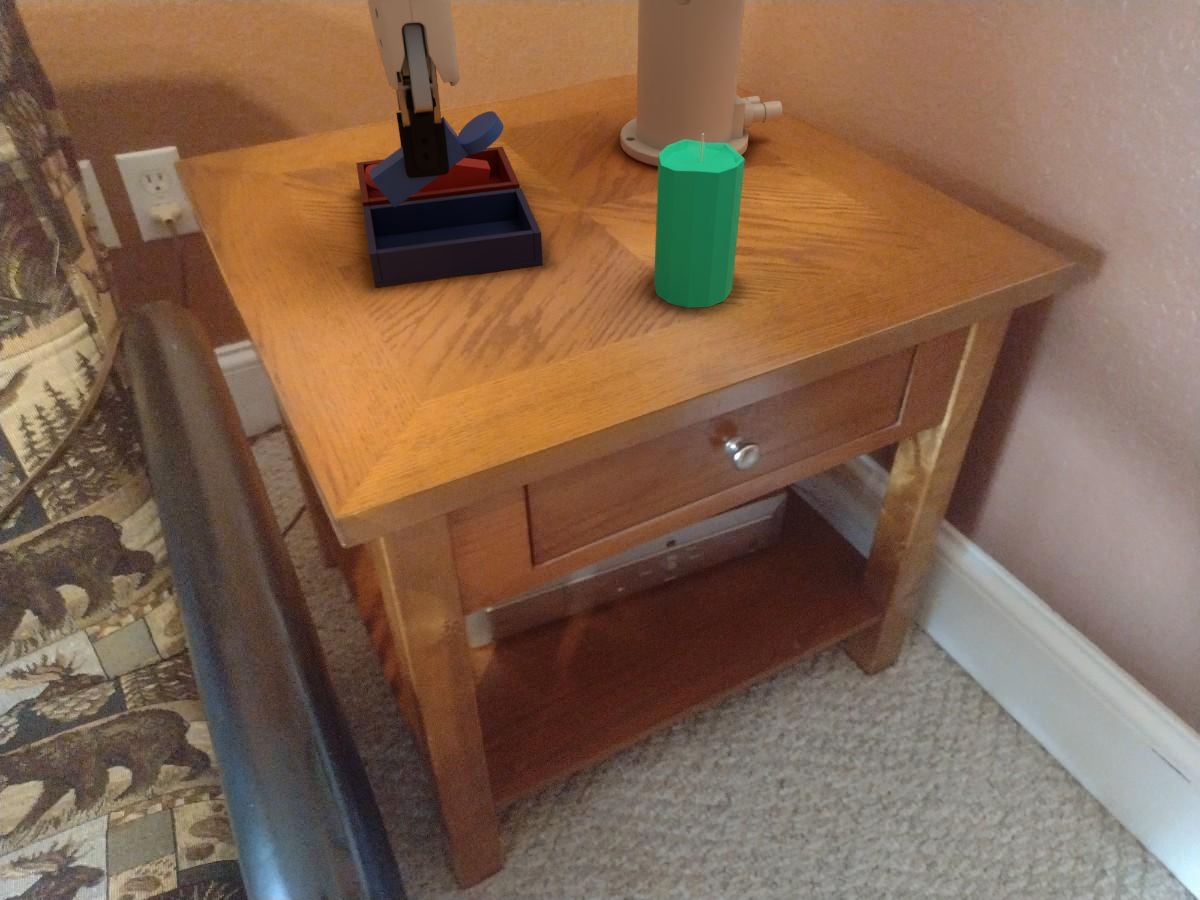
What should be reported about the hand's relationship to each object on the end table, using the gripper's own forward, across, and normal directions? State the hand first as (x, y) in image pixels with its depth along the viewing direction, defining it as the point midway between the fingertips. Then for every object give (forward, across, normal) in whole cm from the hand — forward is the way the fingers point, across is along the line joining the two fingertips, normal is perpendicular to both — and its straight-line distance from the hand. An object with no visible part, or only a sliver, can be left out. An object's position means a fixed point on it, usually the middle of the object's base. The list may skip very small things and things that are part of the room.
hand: (426, 167), depth 69 cm
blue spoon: (0, 0, -2) cm, 2 cm away
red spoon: (+6, +9, 0) cm, 11 cm away
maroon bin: (+7, +9, -1) cm, 12 cm away
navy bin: (+7, 0, -1) cm, 7 cm away
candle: (+7, -10, -18) cm, 22 cm away
